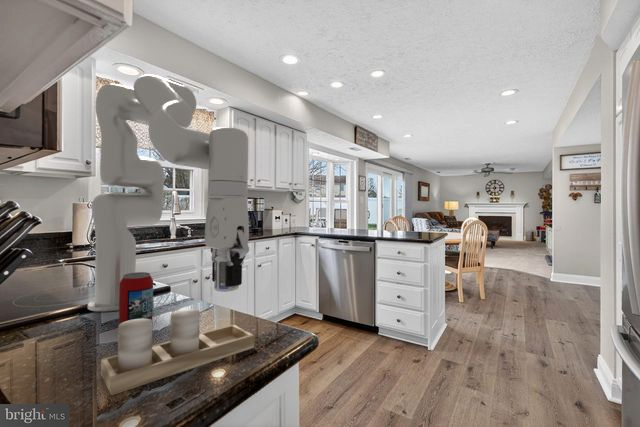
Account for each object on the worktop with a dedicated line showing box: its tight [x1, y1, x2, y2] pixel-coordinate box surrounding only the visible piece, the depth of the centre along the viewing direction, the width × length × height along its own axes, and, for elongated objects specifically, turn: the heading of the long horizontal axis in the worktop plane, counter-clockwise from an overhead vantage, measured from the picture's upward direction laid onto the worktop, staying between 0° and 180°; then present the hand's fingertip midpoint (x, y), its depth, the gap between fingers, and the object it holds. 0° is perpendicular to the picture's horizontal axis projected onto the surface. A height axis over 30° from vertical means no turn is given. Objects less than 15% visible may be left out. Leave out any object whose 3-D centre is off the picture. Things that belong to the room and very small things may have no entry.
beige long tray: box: [100, 308, 255, 396], centre depth 57 cm, size 8×24×8 cm, turn 134°
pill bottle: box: [213, 246, 240, 293], centre depth 62 cm, size 5×5×8 cm
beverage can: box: [118, 271, 154, 325], centre depth 72 cm, size 7×7×12 cm
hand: (226, 282), depth 62 cm, fingers closed on pill bottle, 4 cm apart
